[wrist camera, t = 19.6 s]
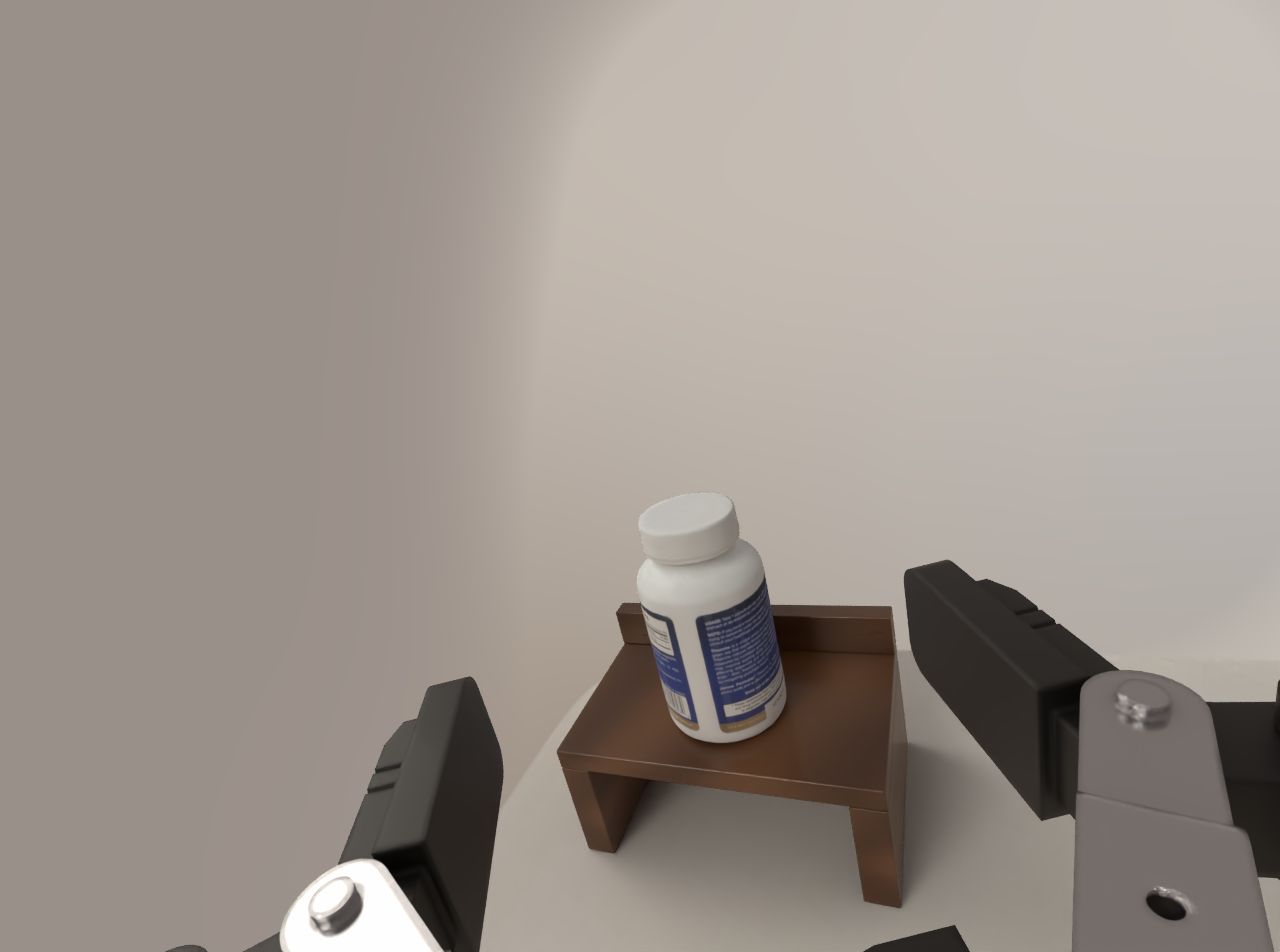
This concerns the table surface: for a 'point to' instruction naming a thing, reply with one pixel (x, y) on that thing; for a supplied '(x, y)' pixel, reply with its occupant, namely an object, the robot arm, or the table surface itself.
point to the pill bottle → (709, 619)
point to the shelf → (761, 736)
